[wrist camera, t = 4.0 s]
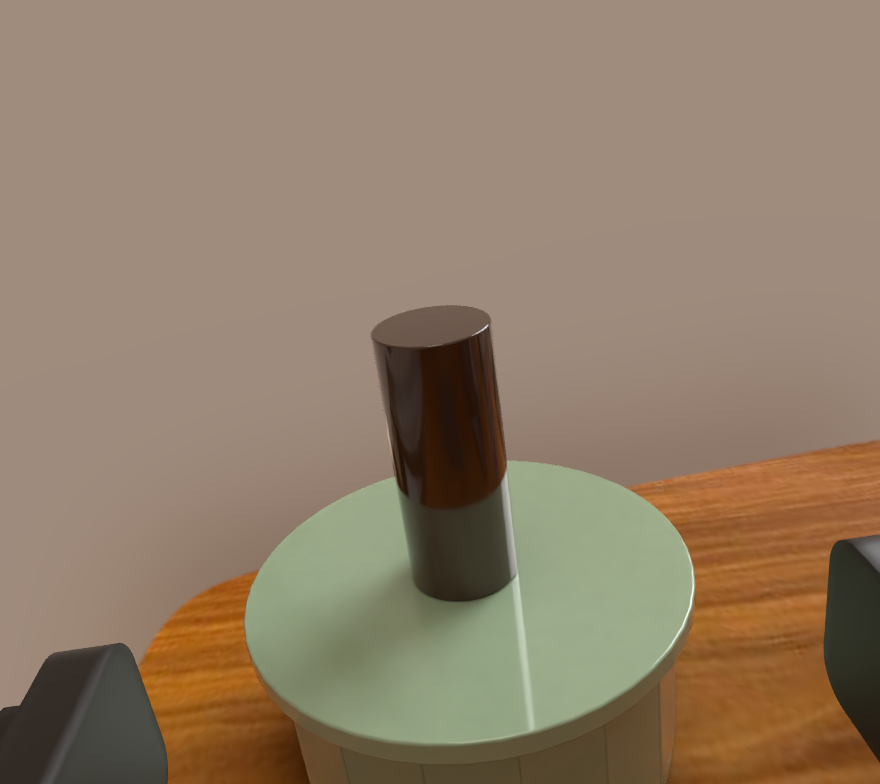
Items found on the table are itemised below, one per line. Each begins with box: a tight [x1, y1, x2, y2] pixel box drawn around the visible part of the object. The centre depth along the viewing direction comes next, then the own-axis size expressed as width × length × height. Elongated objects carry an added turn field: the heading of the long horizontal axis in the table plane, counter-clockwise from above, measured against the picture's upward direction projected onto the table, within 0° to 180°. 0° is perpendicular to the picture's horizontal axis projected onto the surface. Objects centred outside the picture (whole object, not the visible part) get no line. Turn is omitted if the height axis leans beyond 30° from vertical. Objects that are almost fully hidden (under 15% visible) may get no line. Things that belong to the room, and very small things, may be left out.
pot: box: [293, 663, 676, 784], centre depth 23 cm, size 10×10×5 cm
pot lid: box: [244, 305, 696, 765], centre depth 20 cm, size 12×12×8 cm
